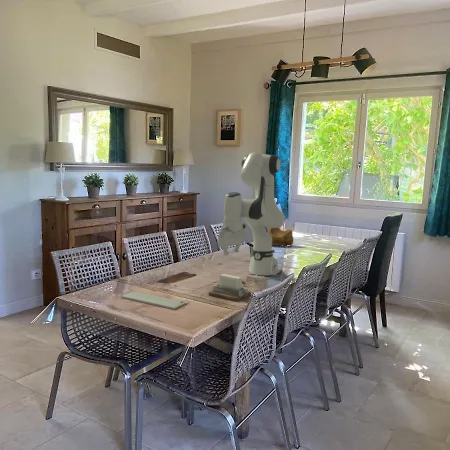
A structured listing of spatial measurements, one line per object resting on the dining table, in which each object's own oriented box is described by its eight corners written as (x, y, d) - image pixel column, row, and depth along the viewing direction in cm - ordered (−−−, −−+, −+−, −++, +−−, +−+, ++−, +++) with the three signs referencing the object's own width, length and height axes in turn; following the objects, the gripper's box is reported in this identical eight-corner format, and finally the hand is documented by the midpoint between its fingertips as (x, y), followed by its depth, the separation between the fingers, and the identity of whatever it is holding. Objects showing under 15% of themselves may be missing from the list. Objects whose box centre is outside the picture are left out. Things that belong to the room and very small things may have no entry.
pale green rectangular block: (222, 289, 225) (223, 273, 224) (241, 293, 219) (241, 277, 218) (219, 290, 222) (219, 275, 221) (238, 294, 217) (238, 278, 215)
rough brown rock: (259, 245, 360) (259, 227, 357) (270, 241, 372) (271, 224, 369) (283, 251, 345) (283, 232, 342) (294, 246, 358) (295, 228, 354)
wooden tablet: (167, 283, 236) (153, 277, 241) (167, 287, 236) (153, 281, 242) (197, 273, 258) (184, 269, 263) (197, 277, 258) (184, 272, 263)
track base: (224, 288, 231) (224, 281, 230) (250, 294, 222) (251, 286, 222) (208, 295, 219) (209, 287, 219) (236, 301, 211) (236, 293, 210)
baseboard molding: (137, 292, 222) (121, 299, 211) (137, 287, 221) (121, 293, 211) (189, 304, 207) (174, 311, 196) (189, 297, 206) (174, 304, 196)
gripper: (226, 229, 206) (225, 258, 208) (248, 224, 223) (247, 251, 225) (215, 227, 209) (214, 256, 211) (237, 223, 226) (236, 249, 228)
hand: (231, 253), depth 218 cm, fingers open, 8 cm apart
